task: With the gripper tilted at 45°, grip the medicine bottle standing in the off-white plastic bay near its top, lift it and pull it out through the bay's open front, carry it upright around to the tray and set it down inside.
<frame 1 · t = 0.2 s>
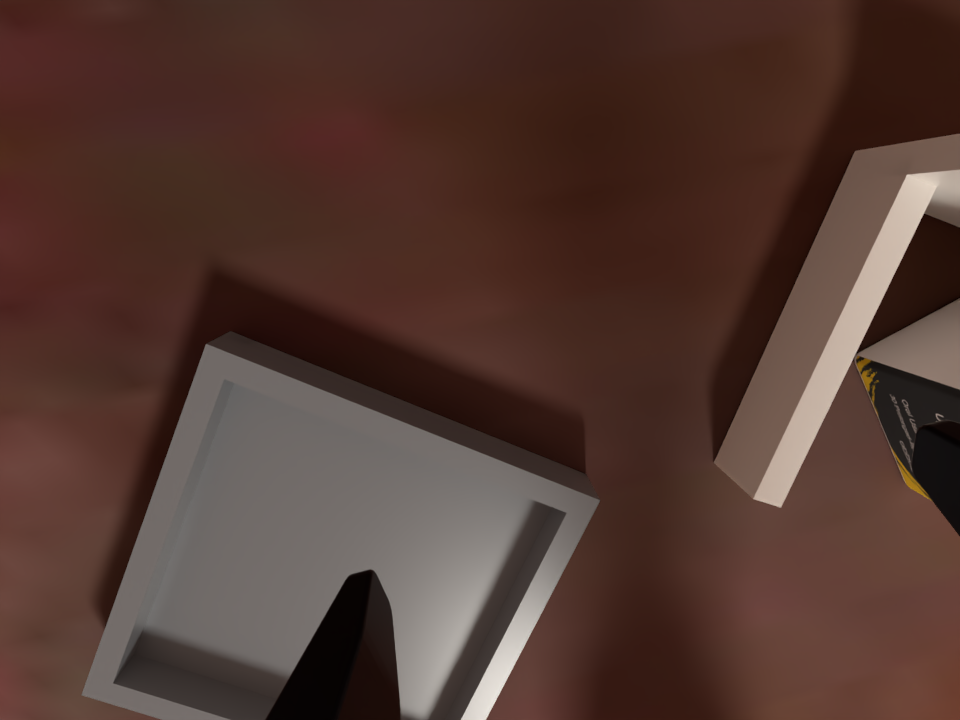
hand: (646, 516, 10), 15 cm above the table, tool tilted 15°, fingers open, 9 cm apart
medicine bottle: (947, 382, 26), on the table
bay: (951, 383, 26), on the table
tray: (346, 564, 27), on the table
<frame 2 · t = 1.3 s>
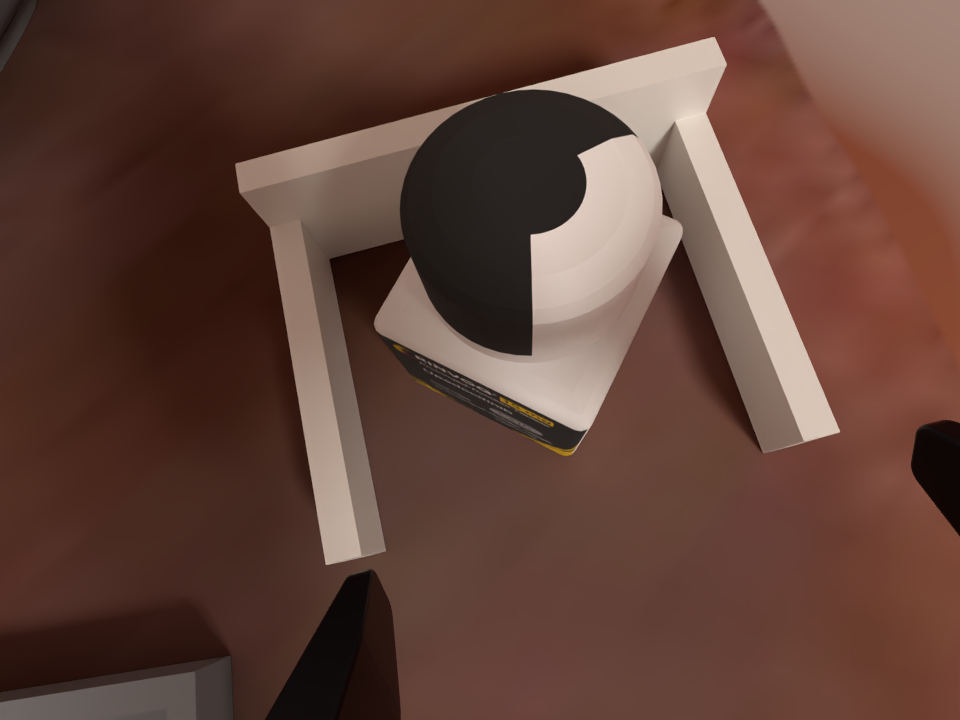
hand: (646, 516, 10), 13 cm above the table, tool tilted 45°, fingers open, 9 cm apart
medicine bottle: (528, 344, 25), on the table
bay: (528, 342, 25), on the table
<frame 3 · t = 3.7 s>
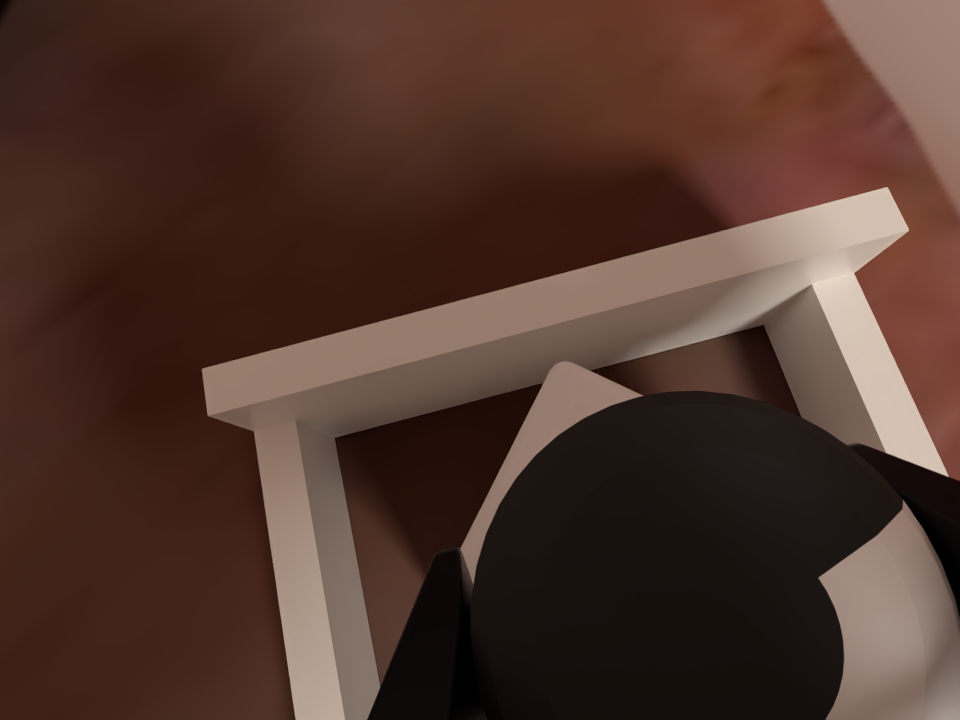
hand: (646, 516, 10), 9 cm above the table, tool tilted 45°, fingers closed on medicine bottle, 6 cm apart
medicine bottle: (601, 565, 19), on the table, touching gripper
bay: (602, 565, 18), on the table
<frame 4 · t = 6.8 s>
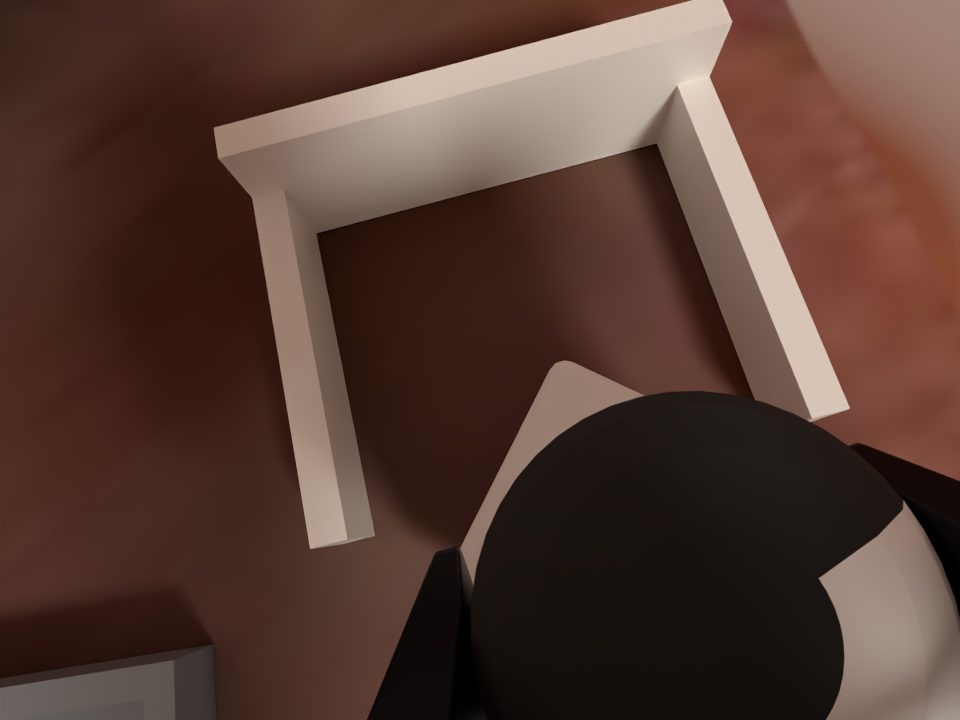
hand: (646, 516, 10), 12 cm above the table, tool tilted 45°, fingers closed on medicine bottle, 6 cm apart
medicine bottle: (601, 563, 19), point 3 cm above the table, touching gripper
bay: (523, 319, 24), on the table
when the fingers open (11 cm above the table, at t = 10.4 s): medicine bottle stays where it is, resting on tray.
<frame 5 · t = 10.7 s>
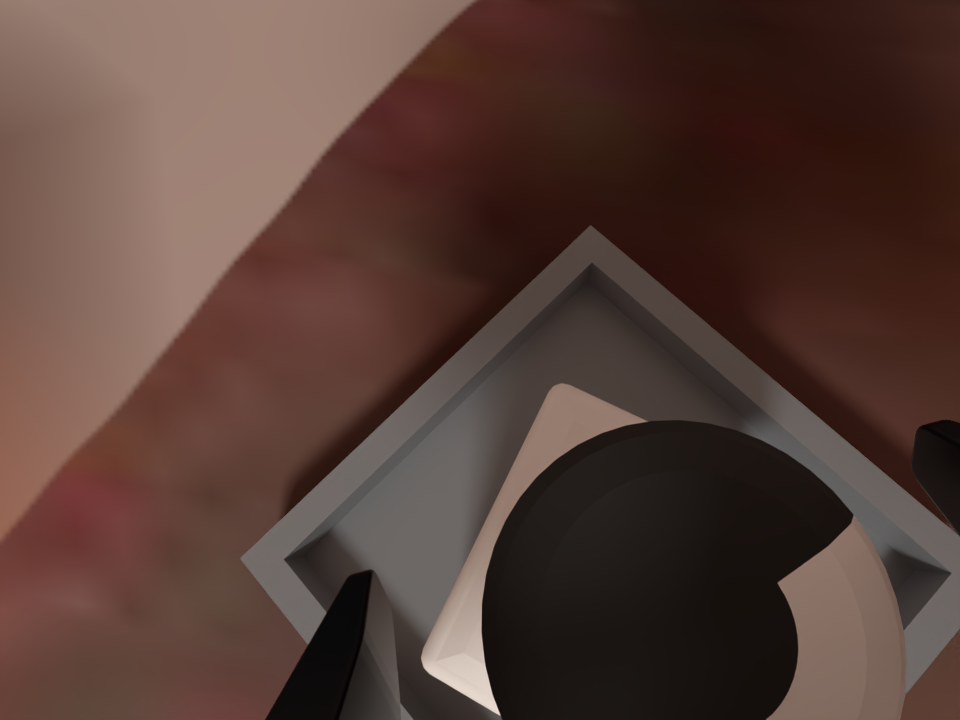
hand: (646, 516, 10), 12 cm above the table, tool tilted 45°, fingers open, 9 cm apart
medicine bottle: (598, 567, 20), point 1 cm above the table, touching tray
tray: (594, 560, 20), on the table
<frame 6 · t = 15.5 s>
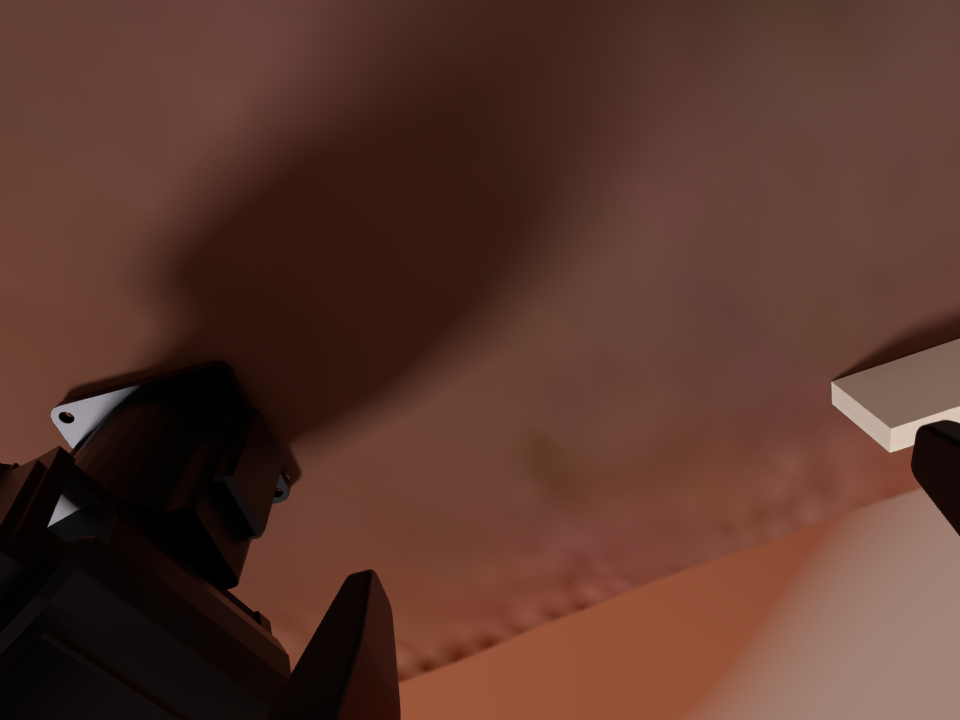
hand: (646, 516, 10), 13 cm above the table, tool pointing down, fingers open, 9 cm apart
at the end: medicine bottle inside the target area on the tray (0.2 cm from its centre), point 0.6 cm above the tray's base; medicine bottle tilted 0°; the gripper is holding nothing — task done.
